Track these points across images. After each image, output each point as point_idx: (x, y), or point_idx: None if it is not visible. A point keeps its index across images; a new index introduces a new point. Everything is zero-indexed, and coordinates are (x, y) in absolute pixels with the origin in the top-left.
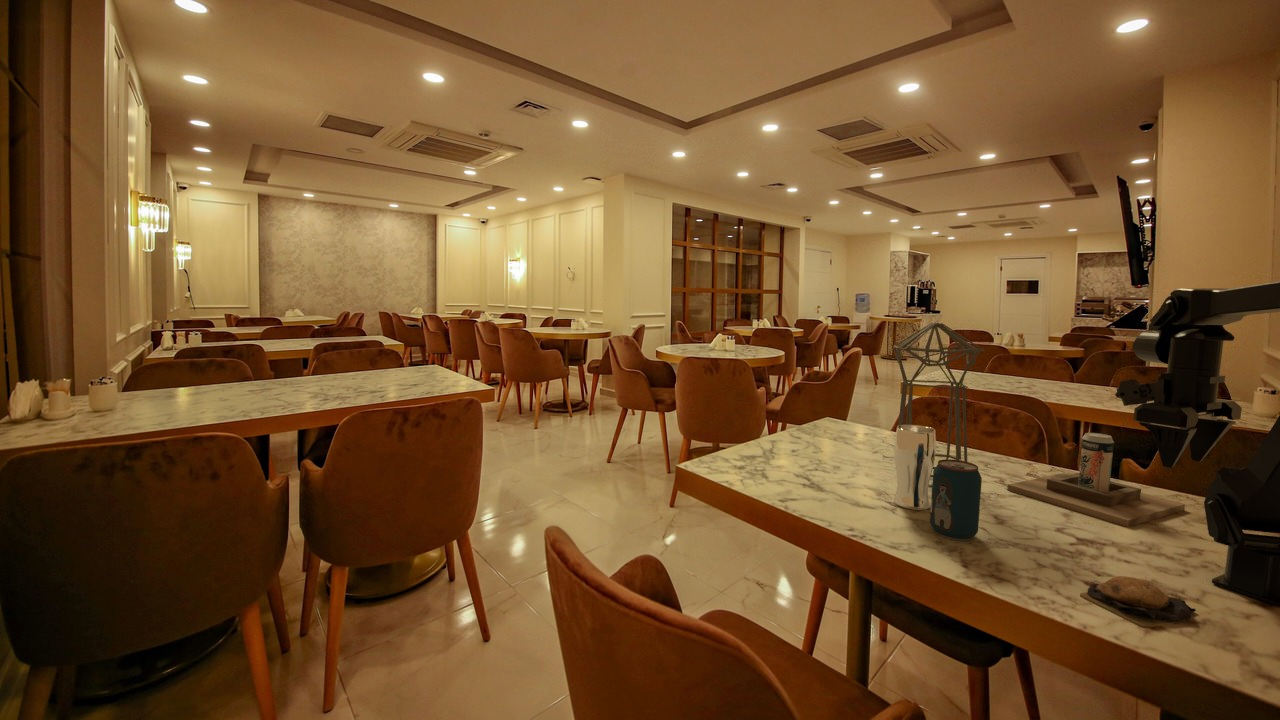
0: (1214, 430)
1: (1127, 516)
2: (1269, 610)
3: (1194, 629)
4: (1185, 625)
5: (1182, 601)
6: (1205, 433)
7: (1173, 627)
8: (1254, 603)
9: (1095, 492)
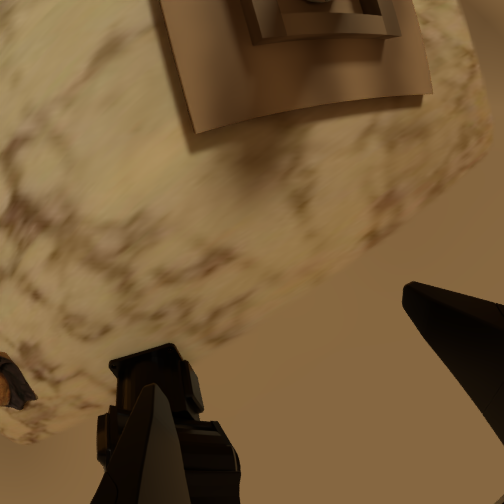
0: (496, 410)
1: (226, 109)
2: None
3: None
4: None
5: (18, 406)
6: (492, 382)
7: None
8: None
9: (252, 3)
